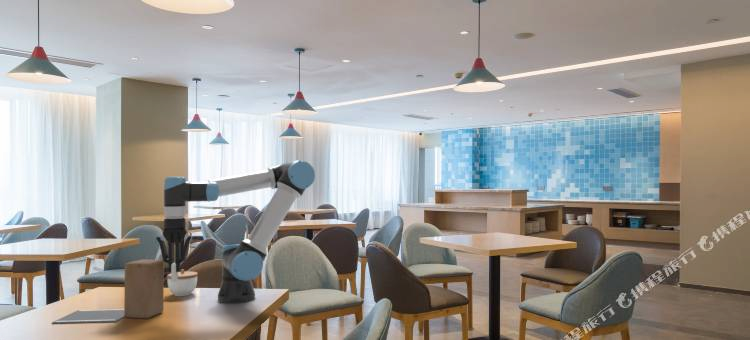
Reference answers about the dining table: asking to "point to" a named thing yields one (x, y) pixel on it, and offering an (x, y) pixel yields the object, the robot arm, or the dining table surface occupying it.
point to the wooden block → (144, 288)
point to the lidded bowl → (183, 283)
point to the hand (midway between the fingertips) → (174, 280)
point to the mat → (92, 316)
